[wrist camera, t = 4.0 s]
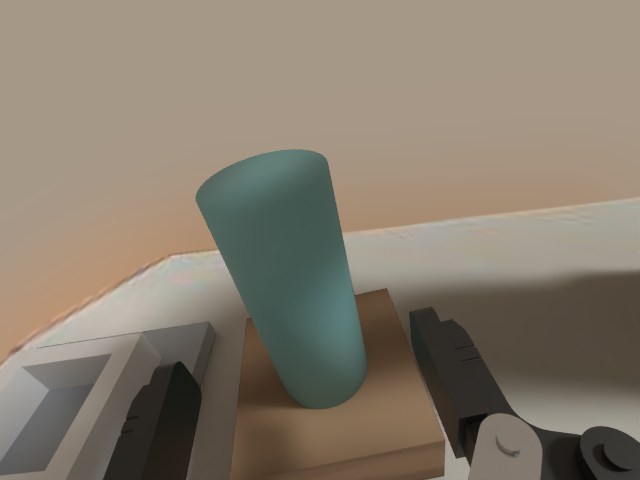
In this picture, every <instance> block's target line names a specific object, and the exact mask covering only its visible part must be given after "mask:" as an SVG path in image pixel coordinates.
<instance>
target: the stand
mask: <svg viewBox="0 0 640 480" xmlns="http://www.w3.org/2000/svg"><path fill="white" fill-rule="evenodd" d="M354 296H355V301H356V306H357V311H358V316H359V321H360V326H361V331H362V336H363V341H364V346H365V351H366V356H367V363H368V367H367V374H366V377H365V380H364V382H363V384H362V386H361V387H360V389H359V390H358V391H357V393H356V394H355V395H354V396H353V397H351V398H350V399H349V400H347V401H346V402H344V403H342V404H341V405H338V406H336V407H332V408H328V409H311V408H307V407H304V406H302V405H300V404H298V403H297V402H295V401H294V400H293V399H292V398H291V397H290V396H289V395H288V394H287V392H286V390H285V388H284V386H283V384H282V382H281V380H280V378H279V376H278V373H277V371H276V369H275V367H274V365H273V363H272V361H271V359H270V357H269V354H268V352H267V350H266V348H265V346H264V344H263V342H262V340H261V338H260V335H259V333H258V331H257V329H256V327H255V325H254V323H253V321H252V318H248V319H247V322H246V331H245V341H244V350H243V359H242V368H241V378H240V387H239V396H238V406H237V415H236V424H235V433H234V443H233V452H232V461H231V471H230V480H425V479H431V478H436V477H441V476H444V463H445V438H444V436H443V433H442V431H441V428H440V425H439V423H438V420H437V418H436V415H435V412H434V410H433V407H432V405H431V402H430V399H429V397H428V394H427V392H426V389H425V386H424V384H423V381H422V379H421V376H420V374H419V371H418V368H417V366H416V363H415V361H414V358H413V355H412V353H411V350H410V348H409V345H408V342H407V340H406V337H405V335H404V332H403V329H402V327H401V324H400V322H399V319H398V316H397V314H396V311H395V309H394V306H393V303H392V301H391V298H390V296H389V293H388V290H387V288H386V289H381V290H376V291H372V292H367V293H363V294H358V295H354Z"/></svg>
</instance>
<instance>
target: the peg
mask: <svg viewBox="0 0 640 480" xmlns="http://www.w3.org/2000/svg"><path fill="white" fill-rule="evenodd" d="M196 202H197V204H198V206H199V208H200V211H201V213H202V215H203V217H204V219H205V221H206V223H207V225H208V228H209V230H210V232H211V234H212V236H213V238H214V240H215V242H216V245H217V247H218V249H219V251H220V253H221V255H222V257H223V259H224V261H225V264H226V266H227V268H228V270H229V272H230V274H231V276H232V278H233V280H234V283H235V285H236V287H237V289H238V291H239V293H240V295H241V297H242V299H243V302H244V304H245V306H246V308H247V310H248V312H249V314H250V316H251V318H252V321H253V323H254V325H255V327H256V329H257V331H258V333H259V335H260V338H261V340H262V342H263V344H264V346H265V348H266V350H267V352H268V354H269V357H270V359H271V361H272V363H273V365H274V367H275V369H276V371H277V373H278V376H279V378H280V380H281V382H282V384H283V386H284V388H285V390H286V392H287V394H288V395H289V396H290V397H291V398H292V399H293V400H294V401H295V402H297V403H298V404H300V405H302V406H304V407H307V408H311V409H328V408H332V407H336V406H338V405H341V404H342V403H344V402H346V401H347V400H349V399H350V398H351V397H353V396H354V395H355V394H356V393H357V391H358V390H359V389H360V387H361V386H362V384H363V382H364V380H365V377H366V374H367V367H368V363H367V356H366V351H365V346H364V341H363V336H362V331H361V326H360V321H359V316H358V311H357V306H356V301H355V296H354V291H353V286H352V281H351V276H350V271H349V266H348V261H347V256H346V251H345V246H344V241H343V236H342V231H341V226H340V221H339V216H338V211H337V206H336V202H335V196H334V191H333V186H332V181H331V176H330V171H329V166H328V162H327V160H326V158H325V157H324V156H323V155H321V154H319V153H316V152H314V151H308V150H281V151H275V152H270V153H265V154H261V155H257V156H254V157H250V158H247V159H245V160H242V161H239V162H237V163H235V164H233V165H230V166H228V167H226V168H224V169H222V170H221V171H219V172H217V173H216V174H214V175H213V176H211V177H210V178H209V179H208V180H207V181H205V182H204V183H203V185H202V186H201V187H200V188H199V190H198V191H197V194H196Z"/></svg>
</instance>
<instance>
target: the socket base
mask: <svg viewBox="0 0 640 480" xmlns="http://www.w3.org/2000/svg"><path fill="white" fill-rule="evenodd" d="M215 335H216V332H215V330H214V329H213V327H212V325H211V324H210V322H203V323H197V324H190V325H183V326H177V327H170V328H164V329H157V330H151V331H144V332H138V333H131V334H124V335H118V336H111V337H105V338H98V339H92V340H85V341H79V342H72V343H65V344H59V345H52V346H46V347H39V348H36V349H31V350H24V351H18V352H17V353H16V354H15V355H14V356H13V358H12V359H11V360H10V361H9V362H8V363H7V365H6V366H5V367H4V368H3V369H2V370H1V372H0V480H103V478H104V475H105V472H106V470H107V467H108V464H109V462H110V459H111V456H112V454H113V451H114V448H115V446H116V443H117V440H118V438H119V436H120V435H121V429H122V427H123V424H124V422H126V416H127V413H128V411H129V408H130V405H131V403H132V401H133V399H134V398H135V397H136V395H137V394H138V392H139V391H140V390H141V388H142V387H143V386H144V385H149V383H150V380H151V377H152V374H153V372H154V370H155V368H156V367H157V366H160V365H164V364H169V363H173V362H178V361H181V362H182V363H183V364H184V365H185V366H186V368H187V369H188V371H189V372H190V373H191V375H192V376H193V377H194V379H195V380H196V381H197V383H198V384H199V386H201V382H202V379H203V376H204V372H205V369H206V365H207V362H208V359H209V355H210V352H211V349H212V345H213V342H214V339H215Z"/></svg>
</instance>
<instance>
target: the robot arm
mask: <svg viewBox="0 0 640 480" xmlns="http://www.w3.org/2000/svg"><path fill="white" fill-rule="evenodd" d="M410 329H411V341H412V346H413V350H414V353H415V356H416V359H417V361H418V364H419V366H420V369H421V371H422V374H423V376H424V379H425V381H426V384H427V386H428V389H429V391H430V394H431V396H432V399H433V402H434V404H435V407H436V409H437V412H438V414H439V417H440V419H441V422H442V424H443V427H444V429H445V432H446V434H447V437H448V439H449V442H450V444H451V447H452V449H453V452H454V454H455V457H456V459H457V458H461V457H466V458H467V461H468V463H469V466H470V473H469V477H468V480H640V443H639V442H638V441H637V440H635V439H634V438H632V437H631V436H629V435H628V434H626V433H624V432H622V431H619V430H617V429H614V428H610V427H604V426H597V427H592V428H590V429H588V430H586V431H585V432H584V433H583V435H577V434H570V433H562V432H555V431H549V430H544V429H541V428H538V427H535V426H533V425H531V424H529V423H528V422H526V421H525V420H523V419H522V418H520V417H519V416H518V415H517V414H516V413H515V412H514V411H513V409H512V408H511V407H510V405H509V404H508V402H507V400H506V399H505V397H504V395H503V393H502V392H501V390H500V388H499V387H498V385H497V383H496V381H495V380H494V378H493V376H492V375H491V373H490V371H489V370H488V368H487V366H486V364H485V363H484V361H483V360H482V359H481V356H480V354H479V352H478V351H477V349H476V348H475V347H474V344H473V342H472V340H471V339H470V337H469V335H468V334H467V332H466V330H464V329H463V328H462V327H461V326H460V325H458V324H457V323H456V322H455V321H453V320H447V321H442V322H440V320H439V318H438V316H437V314H436V312H435V311H434V309H433V308H432V307H428V308H424V309H419V310H415V311H410ZM200 406H201V390H200V386H199V384H198V383H197V381H196V380H195V379H194V377H193V376H192V375H191V373H190V372H189V371H188V369H187V368H186V366H185V365H184V364H183V363H182V362H181V361H178V362H173V363H169V364H164V365H160V366H157V367H156V368H155V370H154V372H153V374H152V377H151V380H150V383H149V385H144V386H143V387H142V388H141V390H140V391H139V392H138V394H137V395H136V397H135V398H134V399H133V401H132V403H131V405H130V408H129V411H128V413H127V416H126V422H124V424H123V427H122V429H121V435H120V436H119V438H118V440H117V443H116V446H115V448H114V451H113V454H112V456H111V459H110V462H109V464H108V467H107V470H106V472H105V475H104V478H103V480H186V477H187V471H188V466H189V461H190V456H191V451H192V446H193V441H194V436H195V431H196V426H197V421H198V416H199V411H200Z"/></svg>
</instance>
